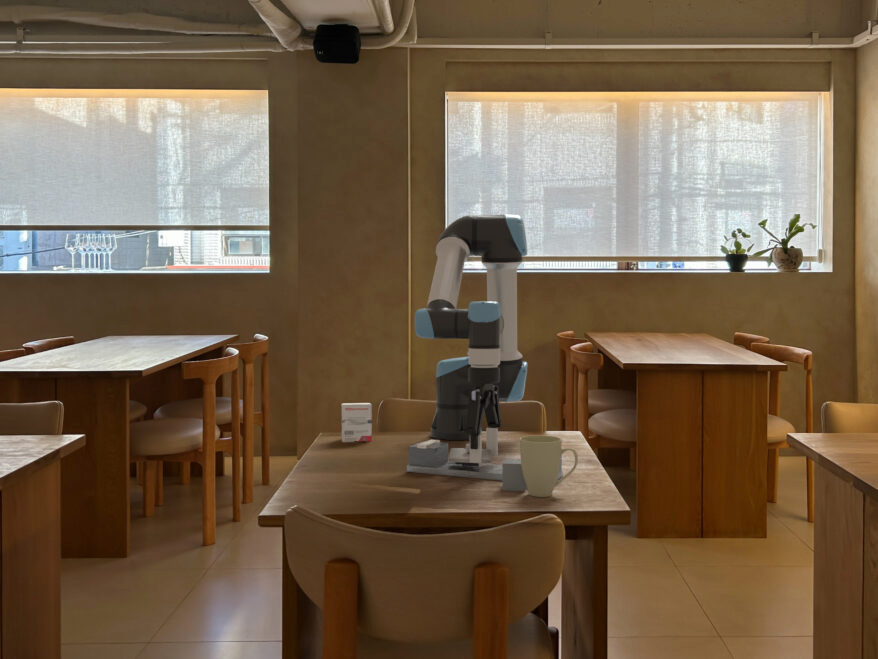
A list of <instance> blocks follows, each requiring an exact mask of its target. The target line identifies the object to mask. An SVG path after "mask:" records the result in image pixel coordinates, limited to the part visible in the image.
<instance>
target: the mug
mask: <svg viewBox="0 0 878 659" xmlns="http://www.w3.org/2000/svg"><path fill="white" fill-rule="evenodd" d="M562 440H563V439H562V438H561V437H558V436H554V435H553V436H552V435H540V434H539V435H538V434H537V435H525V436H522V437H521V436H520V437H519V451H520V452H519V453H520V460H521V467H522V472H523V476H524V479H525V482H526V490H527V492H528V494H529V496H531V497H537V498H545V497H547V498H548V497H551V496H552V495H553V492H554V489H555V487H556V485H557V484H559V483H561V482H563V481H564V480H565V479H567V478H568V477H569V476H571V474H572V473H573V472H574V471H575V470H576V469H577V466H578V462H579V461H578V460H579V455H578V452H577V450H576V449H575V448H574V447H569V446H567V447H562V442H563V441H562ZM567 451H572V452H573V454H574V465H573V467H572V468H571V470H569V471H568V473H567V474H565V475H563V477H561V478H560V479H559V480H557V476H558V472H559V467H560V459H561V455H563V454H565V452H567Z"/></svg>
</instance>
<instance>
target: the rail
mask: <svg viewBox="0 0 878 659" xmlns="http://www.w3.org/2000/svg"><path fill="white" fill-rule="evenodd" d="M562 455H563V454H562ZM562 455H561V459H560V467H559V472H558V476H557V480H560V479H561V478H563V477H564V470H563V469H562V462H563V461H562V460H563V458H562ZM406 472H407V473H409V472H410V473H417V474H429V475H438V476H450V477H460V478H470V479H471V478H472V479H483V480H493V481H502V464H494V463H479V466H462V464H456V462H449V443H448V442H441V439H428V440H426V441H425V440H424V441H420V442H416V443H414V444H411V445H409V446H408V464H407V465H406Z"/></svg>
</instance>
